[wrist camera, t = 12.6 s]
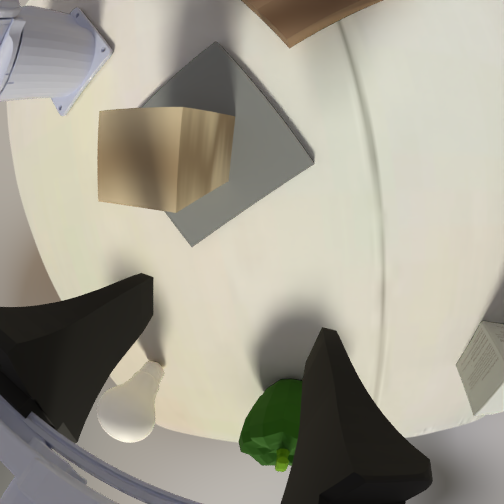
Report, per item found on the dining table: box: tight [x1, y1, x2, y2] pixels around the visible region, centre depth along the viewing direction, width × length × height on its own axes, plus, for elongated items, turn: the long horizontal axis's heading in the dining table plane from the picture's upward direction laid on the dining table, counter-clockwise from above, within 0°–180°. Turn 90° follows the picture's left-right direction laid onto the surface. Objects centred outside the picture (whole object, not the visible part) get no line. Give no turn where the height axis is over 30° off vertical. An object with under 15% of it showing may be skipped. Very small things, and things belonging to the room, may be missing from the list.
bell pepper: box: [239, 379, 303, 472], centre depth 23 cm, size 8×8×10 cm
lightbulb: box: [97, 361, 164, 442], centre depth 25 cm, size 6×6×11 cm
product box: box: [456, 321, 504, 416], centre depth 17 cm, size 6×6×7 cm
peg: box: [98, 107, 235, 213], centre depth 15 cm, size 4×4×8 cm
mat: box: [142, 42, 314, 247], centre depth 19 cm, size 11×11×1 cm
